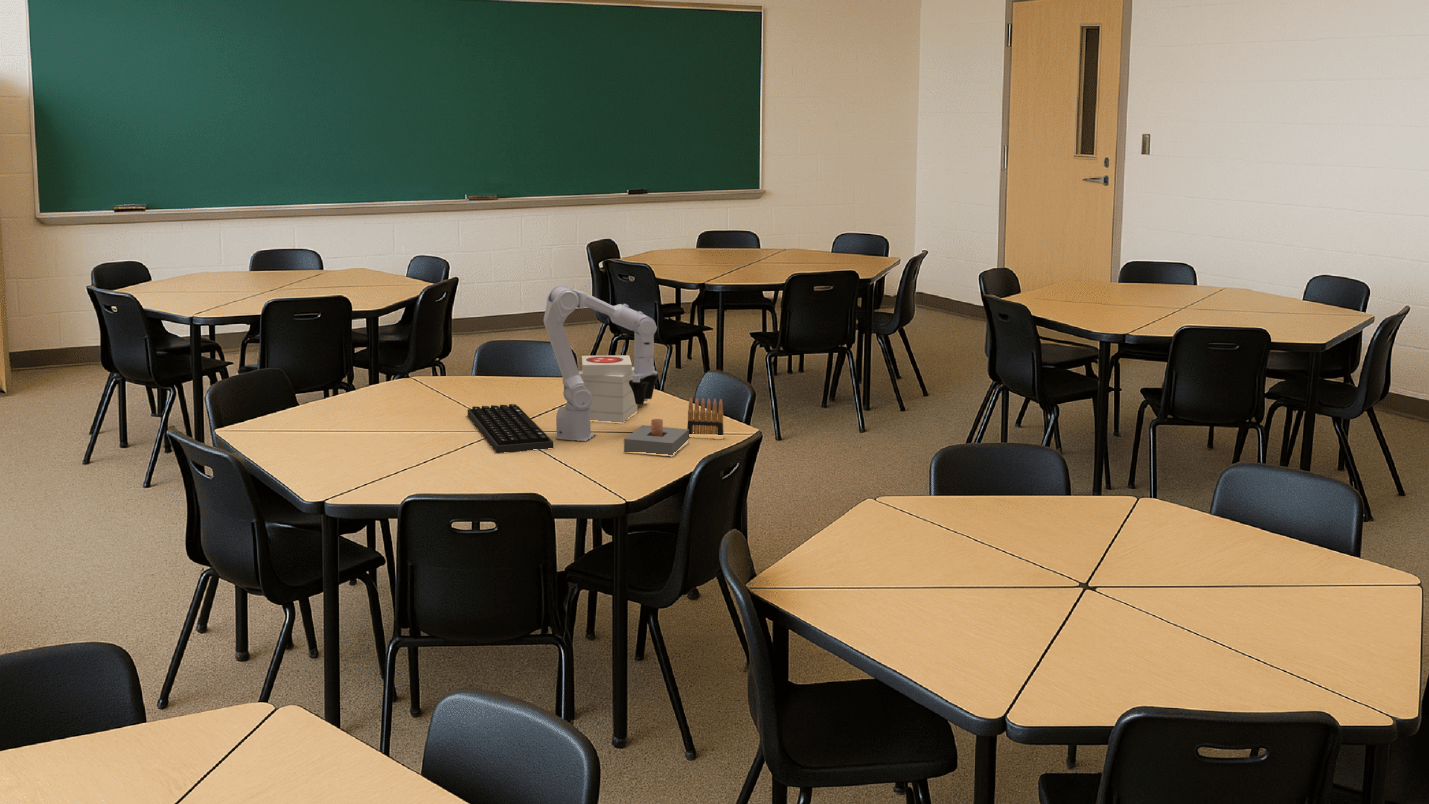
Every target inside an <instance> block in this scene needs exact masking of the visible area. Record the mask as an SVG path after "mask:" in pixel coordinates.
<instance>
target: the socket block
mask: <svg viewBox="0 0 1429 804" xmlns="http://www.w3.org/2000/svg"><path fill="white" fill-rule="evenodd" d="M688 439H689V440H690V438H689V429H687V428H678V427H665V426H663V437H659V436H651V425H641V426H639V427H638V428H637V429H635V430H634V431H633V432H631V433H630V434H629V435H628V436H626V437H624V439H623V444H624V445H623V453H624V452H646V453H656V454H668V455H673V453H674V452H676V451H677V450H678V449H679V448H680V447H681V446H682V445H683V444H684V443H685V442H686V441H687V440H688Z"/></svg>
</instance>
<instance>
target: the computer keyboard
mask: <svg viewBox="0 0 1429 804" xmlns="http://www.w3.org/2000/svg"><path fill="white" fill-rule="evenodd" d="M467 417H468V419H469V420H470V421H471V420H472V421H471V422H472V423H474V424H473V425H474V426H475V425H476V426H475V427H476V429H477V428H478V429H479V430H478V429H477V430H478V431H479V433H482V434H483V435H482V434H481V435H482V436H483V438H484V437H485V438H484V439H485V440H486V441H487V443H488V444H489V445H490V447H491V446H492V449H493V450H494V451H495V454H497V453H498V454H505V453H504V452H510V453H519V452H520V451H521V452H528V451H527V450H533V449H545V450H549V449H548V448H553V449H554V441H553V440H552V439H551V437H549V436H548V434H546V432H544V430H543V429H541V427H539V425H537V424H536V422H535V421H534V420H532V419H531V417H530V416H528V414H527V413H526V412H524V410H523V409H522V408H520V406H518V405H517V404H515V403H514V404H513V403H509V404H508V405H507V404H499V405H496V404H495V405H494V404H493V405H492V404H491V405H490V406H489V405H481V407H480V406H472V408H468V409H467ZM533 451H534V450H533ZM521 452H520V453H521Z"/></svg>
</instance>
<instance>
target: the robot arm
mask: <svg viewBox="0 0 1429 804" xmlns="http://www.w3.org/2000/svg"><path fill="white" fill-rule="evenodd" d="M577 308H578V309H579V310H580V309H583V308H589V309H591V310H594V311H596V312H598V313H602V314H603V315H606V316H609V318H610V321H611V322H612V324H615V325H617V326H620V327H622V328H624V329H627V330H629V331H632V332H634V340H633V346H634V347H633V349H634V350H633V352H634V353H633V367H634V371H633V373H634V375H633V380H630V381H629V385H630V387H631V388H632V391H633V394H634V398H635V402H636V404H637V406H638V405H641V406H643V405H644V404H645V401H644V399H648V400H651V399H652V397H653V395H654V389H655V386H656V383H657V381H658V379H659V377H660V375H659V374H658V371H657V370H656V369H655V367H656V366H655V365H654V362H655V361H654V360H655V359H654V358H655V357H654V356H655V352H654V351H655V349H654V347H655V340H654V339H655V338H654V337H655V333H656V332H657V331H658V330H657V329H658V326H657V325H656V322H655V320H654V319H653V318H652V317H650V316H648V315H646V314H644V312H642V311H640V310H639V311H637V310H635V309H632V308H630V306H629V304H627V303H623V304H622V303H620V304H619V303H618V304H616V305H611V304H610V303H607V302H606V301H604V300H601V299H599V298H597V297H595V296H593V295H591V294H589V293H587V292H584V291H581V290H579V289H574V288H568V287H567V286H565V285H557V286H555V287H554V288H552V289H551V291H550V292H549V293H548V295H547V297H546V306H545V311H544V315H543V324H544V327H545V331H546V333H547V336H548V340H549V341H550V344H551V347H552V351H553V354H554V357H555V360H556V362H557V365H558V367H559V370H560V373H561V376H562V384H563V397H564V399H565V401H566V403H565V405H564V406H560V407H559V408H558V409H557V412H556V422H555V423H556V427H555V428H556V436H555V439H556V440H565V441H574V440H578V441H577V442H586V441H585V440H587V441H589V440H590V439H591V438H590V437H592V438H593V437H595V436H596V433H594V432H592V431H591V422H590V404H591V403H592V394H591V392H590V391H589V390H588V389H587V388H586V387H585V384H584V382H583V380H582V378H581V376H580V374H579V372H580V370H579V369H578V366H577V362H576V359H575V357H574V354H573V352H572V351H573V350H572V348H571V345H570V342H569V340H568V335H567V334H566V331H565V327H564V323H565V322H566V319H567V318H568V316H569V315H570V314H572V313H573V312H574V311H575V310H576V309H577ZM594 435H595V436H594ZM589 438H590V439H589ZM588 439H589V440H588ZM580 440H581V441H580Z"/></svg>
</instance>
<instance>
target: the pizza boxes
mask: <svg viewBox="0 0 1429 804" xmlns="http://www.w3.org/2000/svg"><path fill="white" fill-rule="evenodd" d="M581 369H582V370H579V374H580V376H581V378H582V380H583V382H584V384H585V387H586V388H587V389H588V390H589V391H590V392H591V394H592V403H591V404H590V420H598V421H611V422H622V423H623V422H624V421H625V420H627V419H628V417H630V416H631V415H632V414H634V413H635V412H636V411H637V412H638V404H636V402H635V398H634V394H633V391H632V388H631V387H630V385H629V381H630V380H633V375H634V373H633V371H634V366H633V364H632V361H631V357H630V355H625V354H624V355H617V354H616V355H615V354H614V355H581ZM648 400H649V399H644V402H648Z"/></svg>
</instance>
